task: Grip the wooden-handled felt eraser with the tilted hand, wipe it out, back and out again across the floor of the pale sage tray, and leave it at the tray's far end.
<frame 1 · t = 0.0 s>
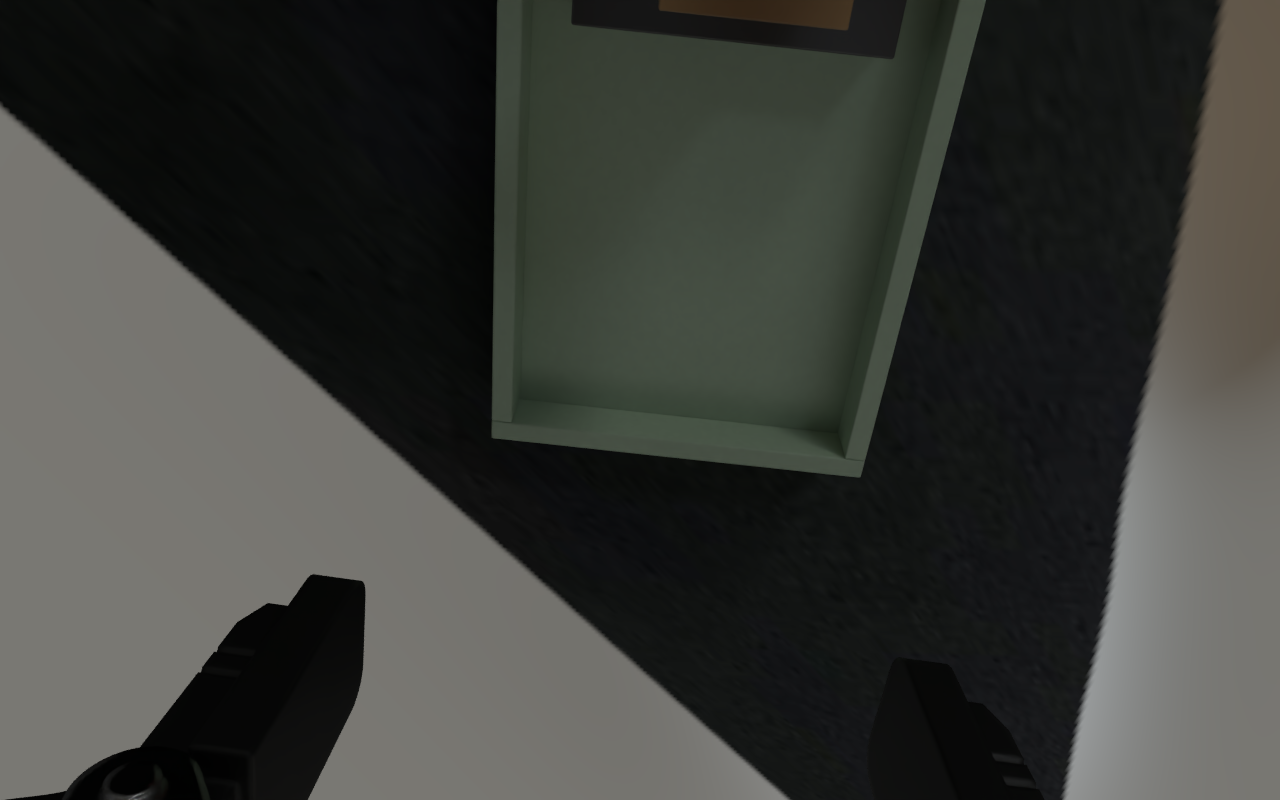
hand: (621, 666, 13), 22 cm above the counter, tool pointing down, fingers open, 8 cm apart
tray: (714, 136, 31), on the counter
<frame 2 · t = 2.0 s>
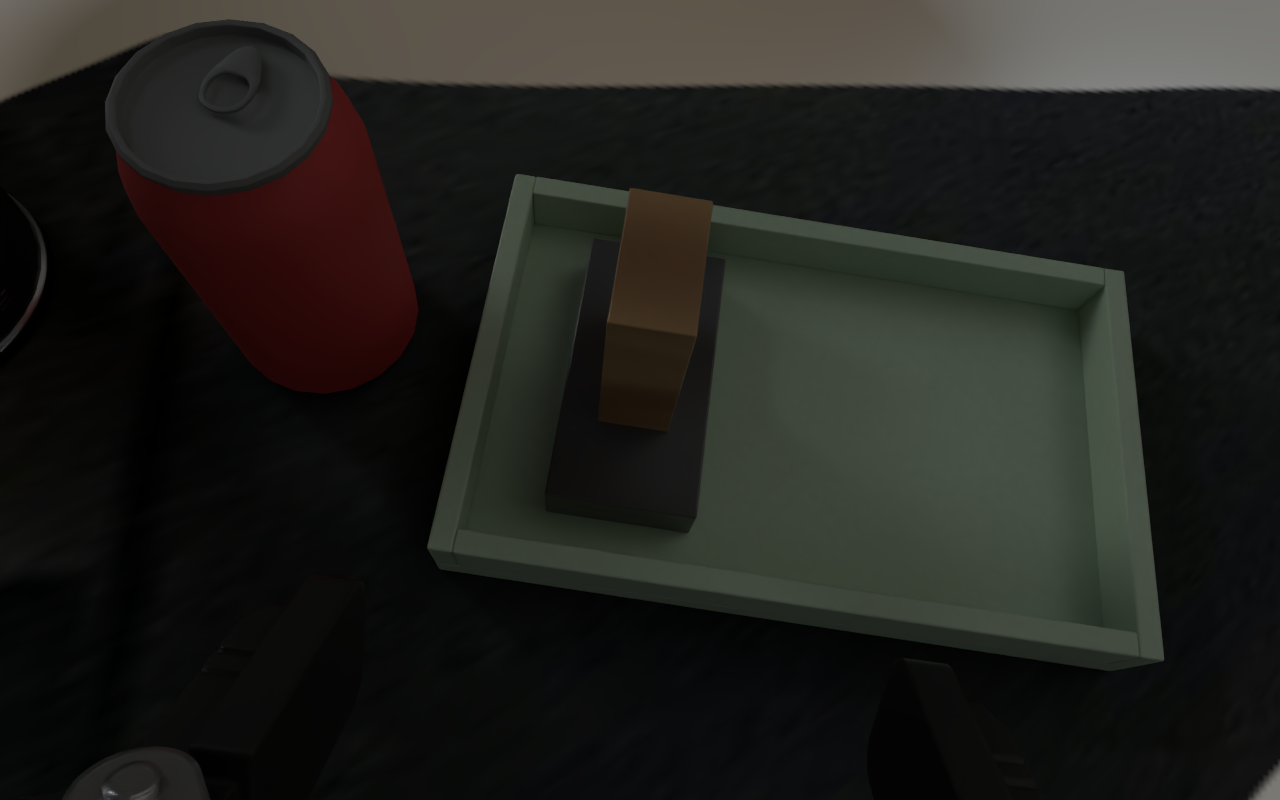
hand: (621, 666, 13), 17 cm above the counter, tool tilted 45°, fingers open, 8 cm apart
eraser: (636, 391, 32), point 1 cm above the counter, touching tray
tray: (791, 426, 33), on the counter
beer can: (334, 323, 33), on the counter
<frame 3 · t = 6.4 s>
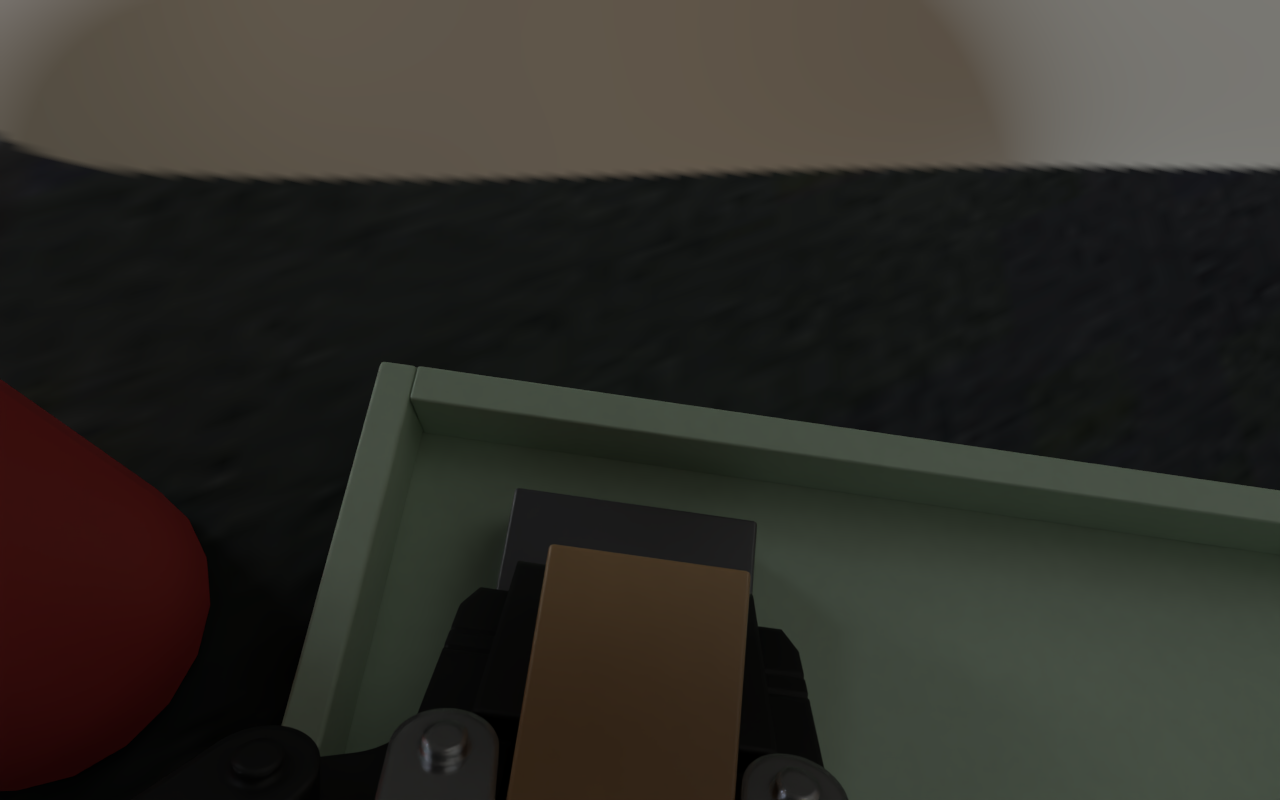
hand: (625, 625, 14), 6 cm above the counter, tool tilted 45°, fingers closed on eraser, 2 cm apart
eraser: (599, 769, 18), point 1 cm above the counter, touching gripper, tray
beer can: (66, 625, 19), on the counter
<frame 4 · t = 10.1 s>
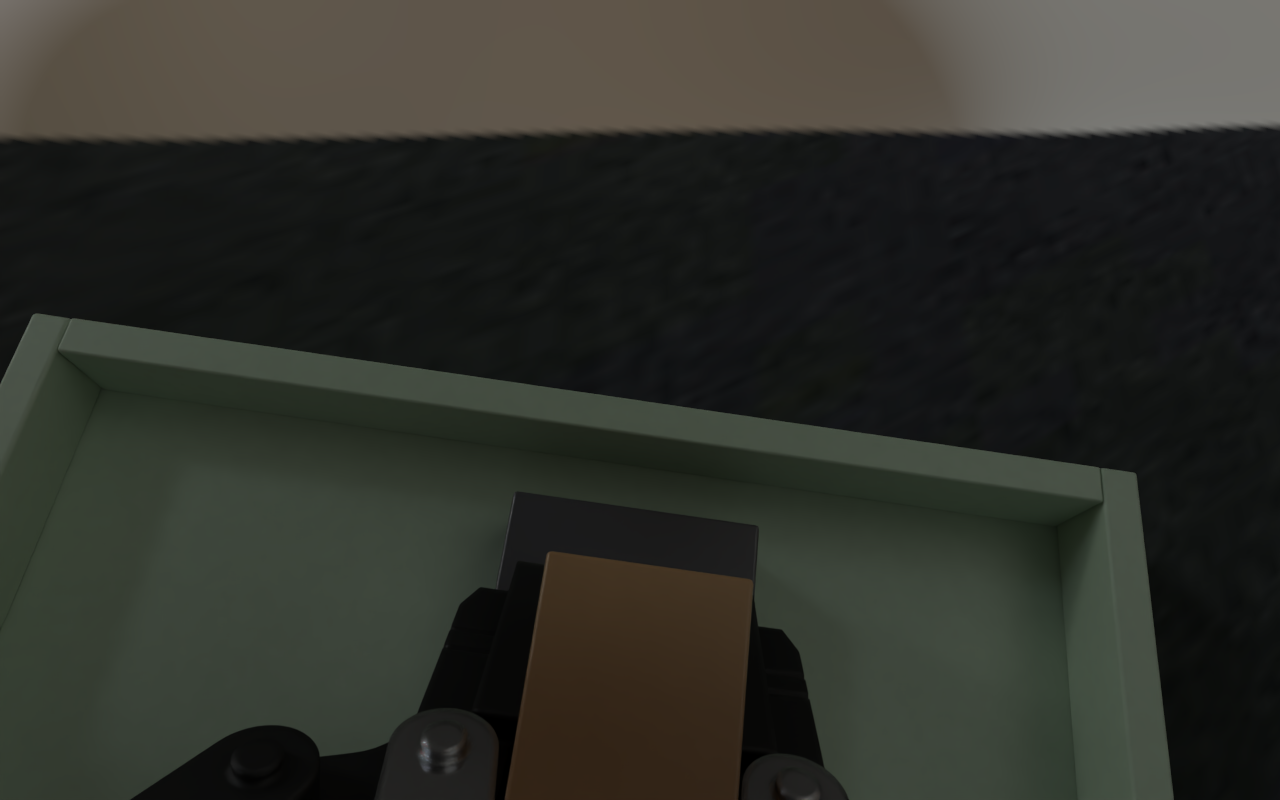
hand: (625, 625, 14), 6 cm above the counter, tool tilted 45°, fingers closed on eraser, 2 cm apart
eraser: (598, 777, 17), point 1 cm above the counter, touching gripper
tray: (537, 766, 18), on the counter
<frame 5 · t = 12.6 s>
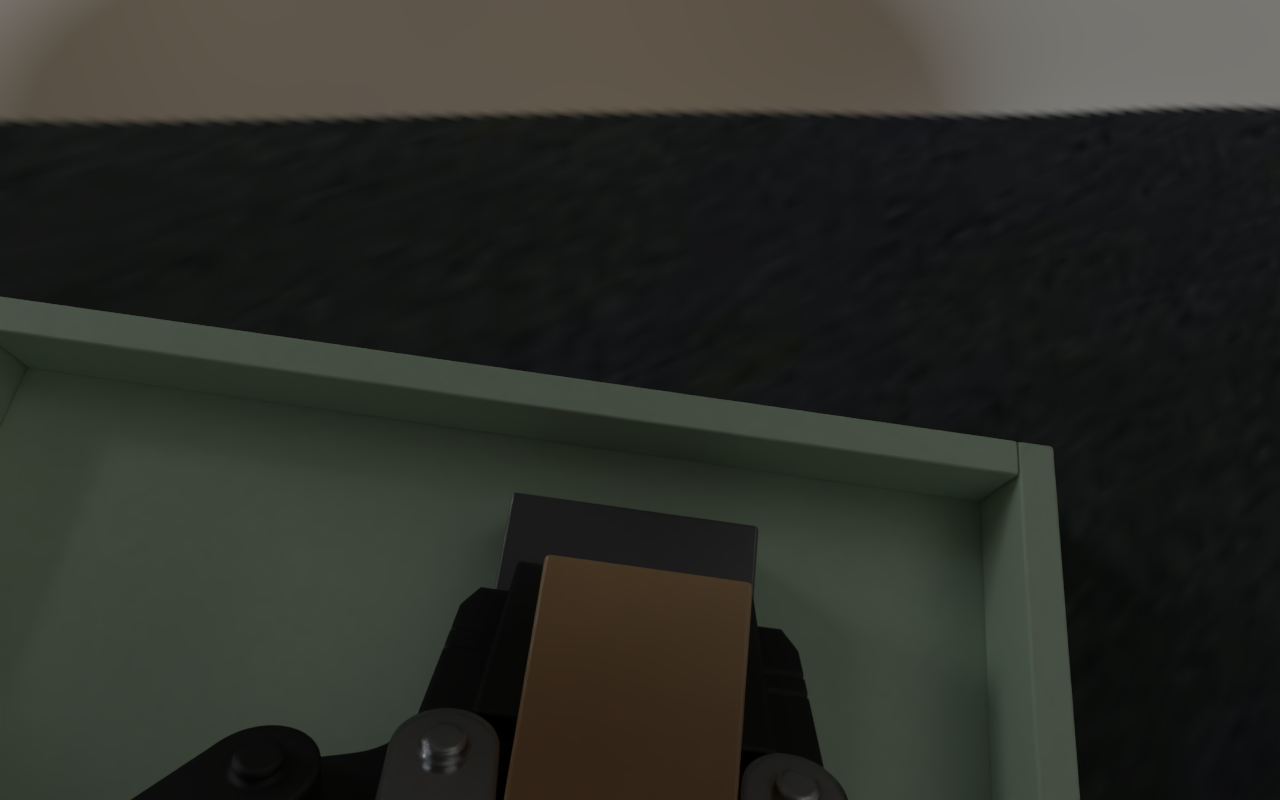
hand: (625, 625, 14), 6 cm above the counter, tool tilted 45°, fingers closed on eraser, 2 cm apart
eraser: (597, 778, 17), point 1 cm above the counter, touching gripper
tray: (457, 739, 18), on the counter
when the fingers open (5 cm above the counter, at t = 14.1 s): eraser stays where it is, resting on tray.
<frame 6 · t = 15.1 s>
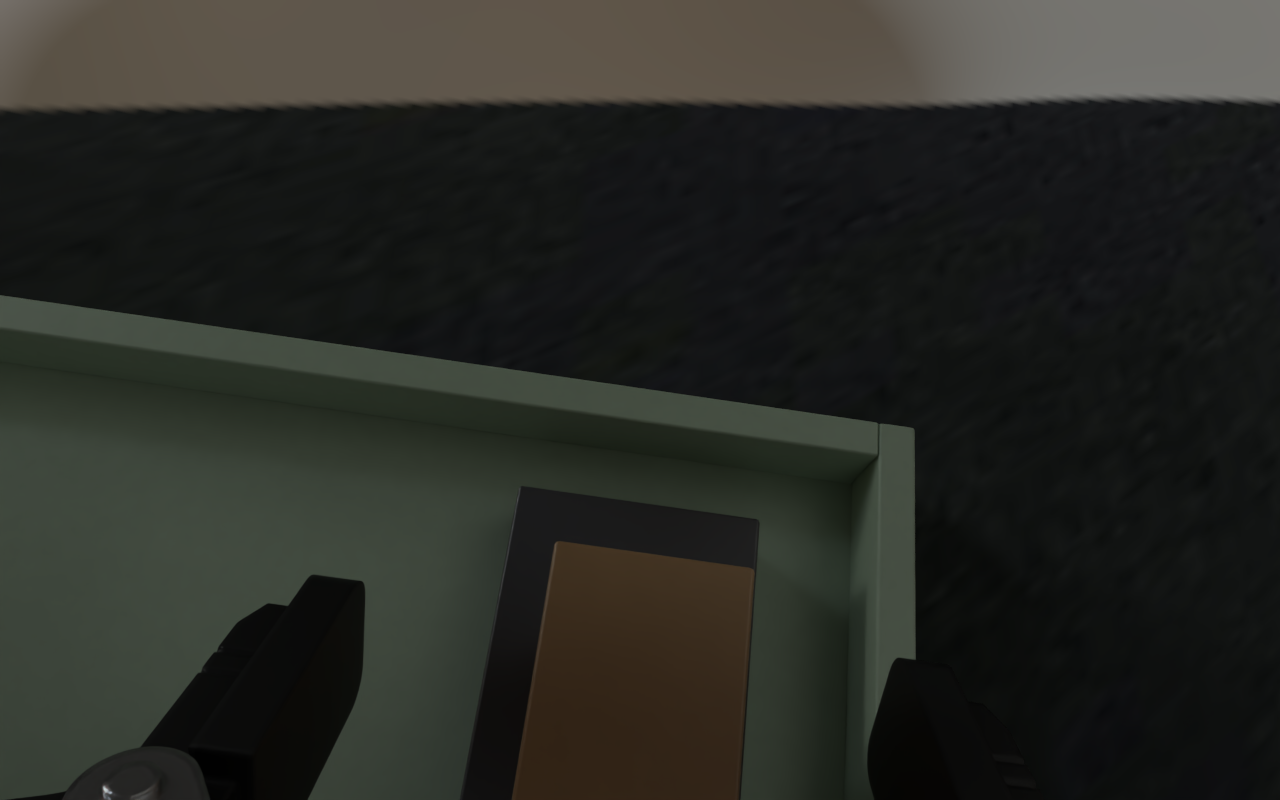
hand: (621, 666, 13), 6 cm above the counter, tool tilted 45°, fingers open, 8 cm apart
eraser: (602, 766, 18), point 1 cm above the counter, touching tray
tray: (319, 715, 19), on the counter
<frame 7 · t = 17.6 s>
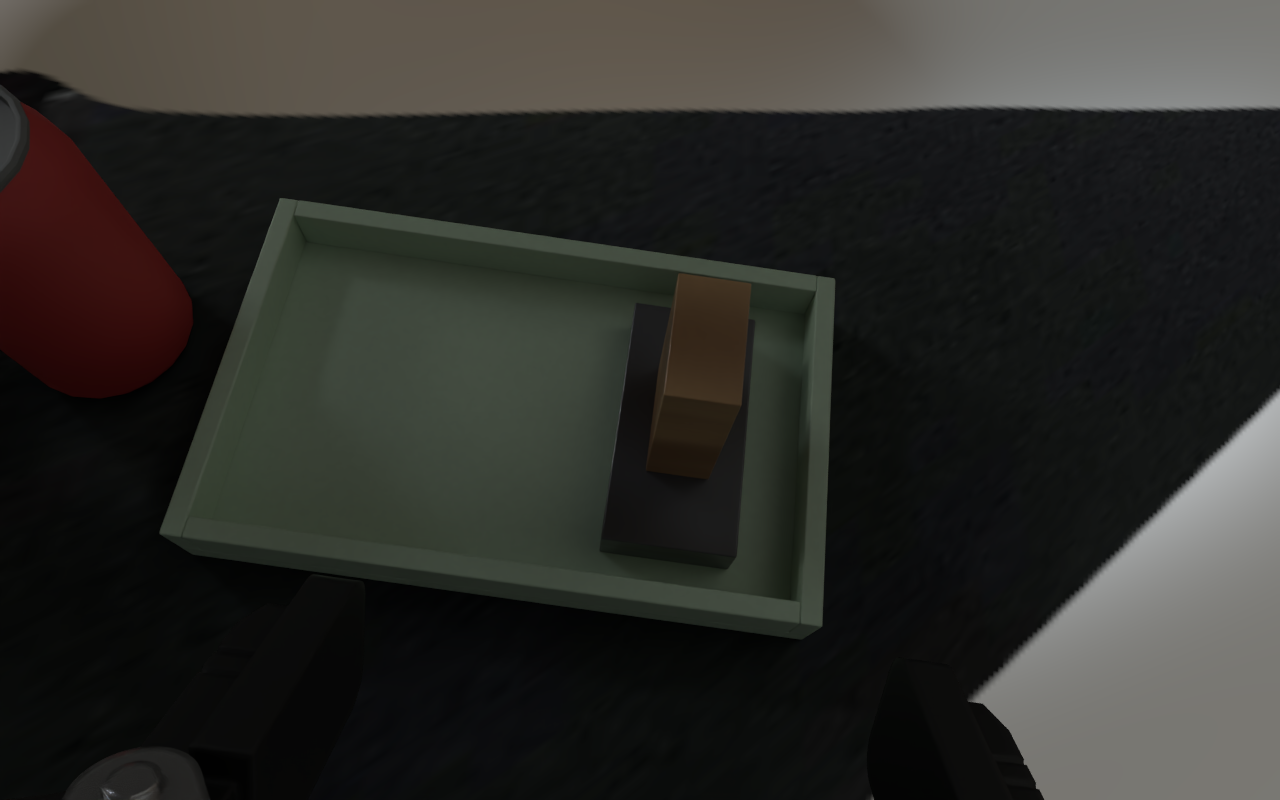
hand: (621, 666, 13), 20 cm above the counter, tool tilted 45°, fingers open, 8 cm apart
eraser: (677, 440, 35), point 1 cm above the counter, touching tray
tray: (531, 423, 36), on the counter
beer can: (119, 335, 37), on the counter
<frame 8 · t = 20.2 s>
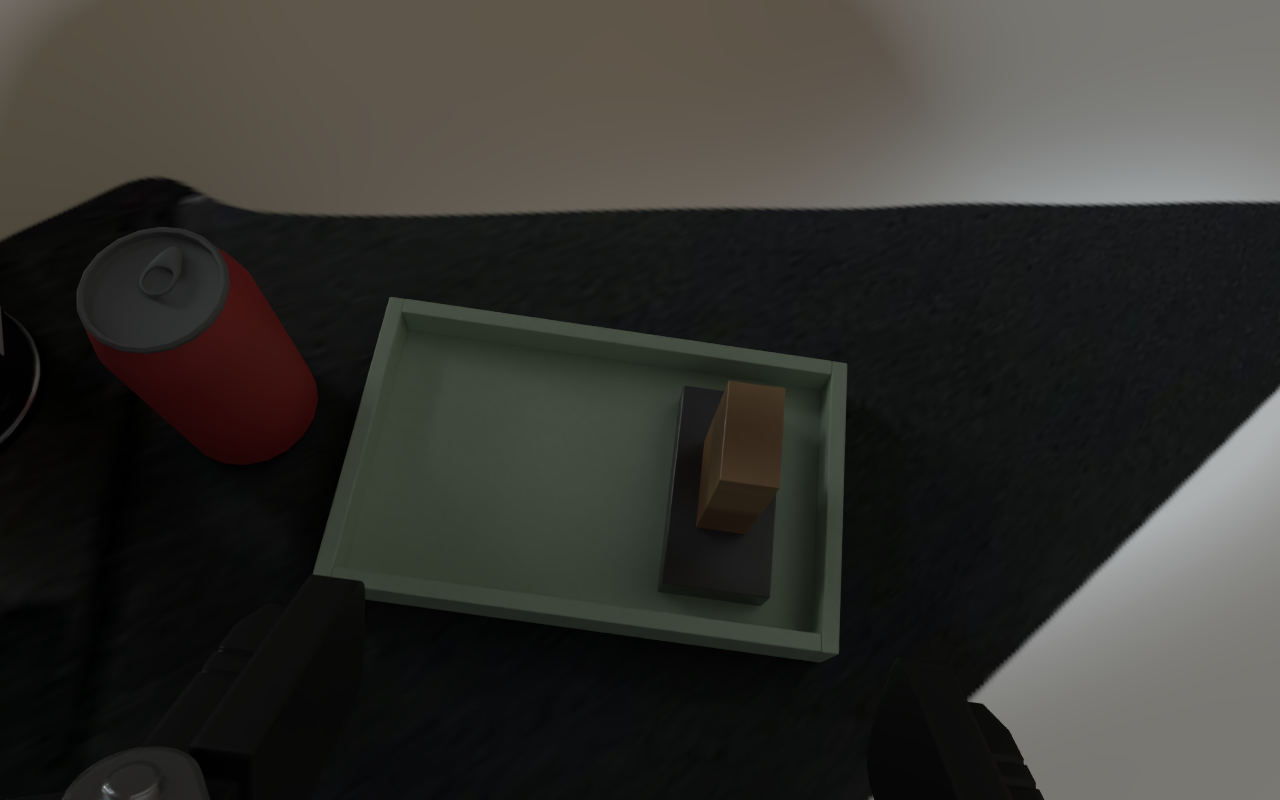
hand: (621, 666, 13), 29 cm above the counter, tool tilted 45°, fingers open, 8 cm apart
eraser: (718, 498, 43), point 1 cm above the counter, touching tray
tray: (597, 483, 44), on the counter
beer can: (256, 409, 45), on the counter
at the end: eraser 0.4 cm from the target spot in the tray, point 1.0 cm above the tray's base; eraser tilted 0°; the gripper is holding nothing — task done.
